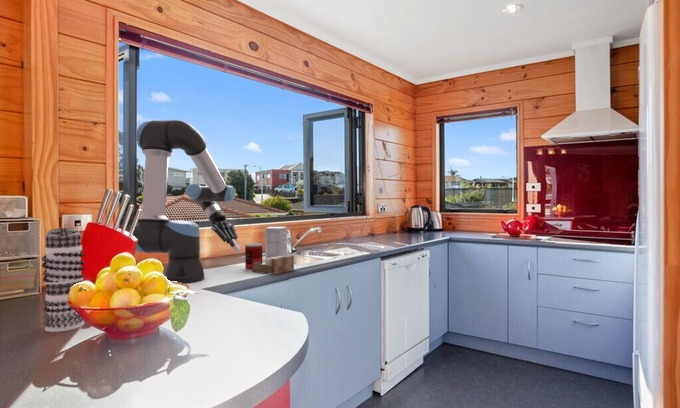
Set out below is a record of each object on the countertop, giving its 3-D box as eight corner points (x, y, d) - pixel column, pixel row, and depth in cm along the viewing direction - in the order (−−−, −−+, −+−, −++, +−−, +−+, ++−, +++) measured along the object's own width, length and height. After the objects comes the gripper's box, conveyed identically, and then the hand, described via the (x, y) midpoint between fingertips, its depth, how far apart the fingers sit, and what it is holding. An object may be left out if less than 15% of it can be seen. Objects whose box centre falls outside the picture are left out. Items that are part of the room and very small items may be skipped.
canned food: (264, 266, 191) (264, 243, 191) (259, 269, 183) (259, 245, 183) (248, 266, 192) (248, 243, 192) (243, 269, 184) (242, 245, 184)
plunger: (268, 272, 176) (268, 258, 176) (264, 271, 177) (264, 258, 177) (283, 268, 183) (282, 256, 183) (279, 268, 184) (279, 255, 184)
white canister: (288, 257, 219) (287, 226, 219) (282, 260, 210) (282, 227, 209) (271, 257, 221) (270, 226, 220) (264, 260, 212) (264, 227, 211)
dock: (274, 274, 172) (273, 259, 171) (252, 271, 179) (252, 256, 179) (293, 270, 182) (293, 255, 182) (272, 267, 189) (272, 253, 189)
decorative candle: (94, 321, 108) (93, 227, 108) (69, 332, 99) (67, 230, 98) (61, 320, 109) (60, 227, 108) (33, 332, 99) (31, 230, 99)
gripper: (222, 219, 211) (244, 254, 202) (201, 221, 200) (223, 257, 191) (229, 209, 208) (252, 244, 199) (208, 210, 197) (231, 247, 188)
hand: (238, 251), depth 195 cm, fingers closed
